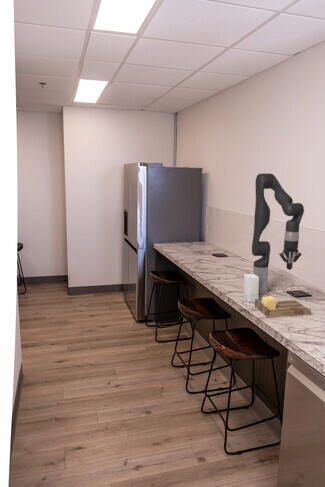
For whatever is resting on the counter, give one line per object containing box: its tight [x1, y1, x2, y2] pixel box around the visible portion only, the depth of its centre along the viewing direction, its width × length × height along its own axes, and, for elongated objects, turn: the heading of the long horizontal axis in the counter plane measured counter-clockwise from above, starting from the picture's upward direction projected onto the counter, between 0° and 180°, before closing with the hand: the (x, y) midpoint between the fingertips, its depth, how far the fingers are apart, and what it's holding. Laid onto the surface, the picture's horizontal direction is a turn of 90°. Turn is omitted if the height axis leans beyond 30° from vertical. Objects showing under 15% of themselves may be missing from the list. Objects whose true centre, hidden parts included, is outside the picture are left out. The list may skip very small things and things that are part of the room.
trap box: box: [254, 299, 312, 318], centre depth 210 cm, size 17×25×4 cm
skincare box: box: [243, 273, 260, 304], centre depth 225 cm, size 8×7×16 cm
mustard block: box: [261, 295, 277, 309], centre depth 207 cm, size 6×6×6 cm
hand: (289, 269), depth 211 cm, fingers closed
